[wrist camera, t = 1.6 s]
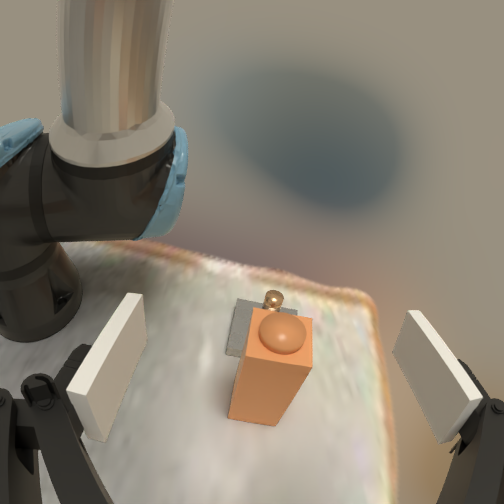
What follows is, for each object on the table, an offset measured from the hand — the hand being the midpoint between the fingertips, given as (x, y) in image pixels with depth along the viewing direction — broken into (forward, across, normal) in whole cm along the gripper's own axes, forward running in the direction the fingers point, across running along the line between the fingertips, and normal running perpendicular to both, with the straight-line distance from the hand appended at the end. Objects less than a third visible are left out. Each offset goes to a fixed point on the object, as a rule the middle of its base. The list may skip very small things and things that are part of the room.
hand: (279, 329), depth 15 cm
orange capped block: (+11, 0, -18) cm, 20 cm away
